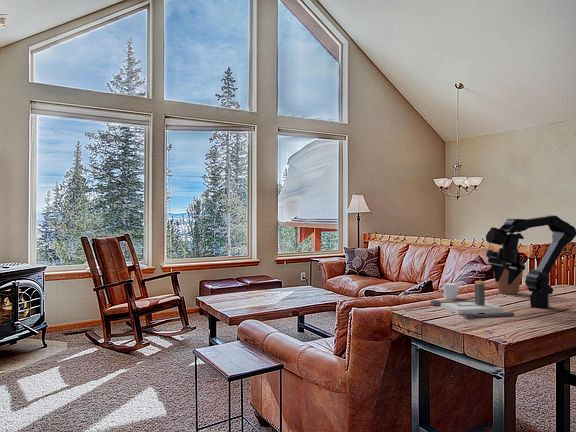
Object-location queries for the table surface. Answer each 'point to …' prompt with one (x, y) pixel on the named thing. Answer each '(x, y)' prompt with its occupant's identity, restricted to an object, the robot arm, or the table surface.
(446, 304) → the breaker panel
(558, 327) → the table surface
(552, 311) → the table surface
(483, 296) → the breaker lever
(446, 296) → the white cup
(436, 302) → the pair of grey rods
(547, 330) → the table surface
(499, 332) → the table surface
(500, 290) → the potted plant
